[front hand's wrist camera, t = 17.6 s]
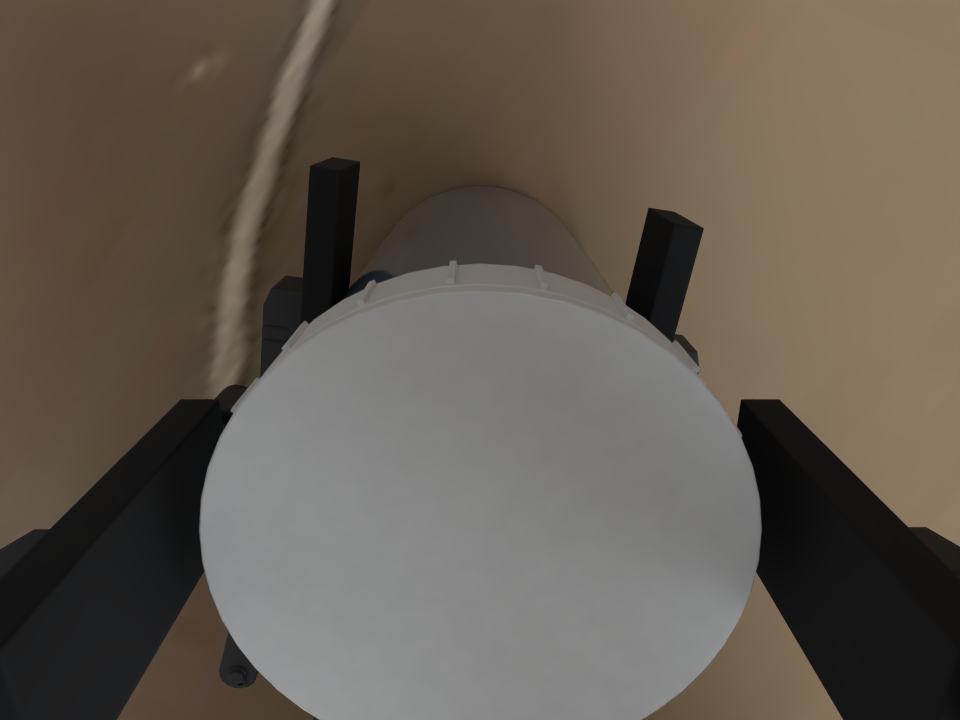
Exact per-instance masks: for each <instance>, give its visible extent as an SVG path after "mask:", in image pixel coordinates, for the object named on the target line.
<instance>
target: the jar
mask: <svg viewBox="0 0 960 720" xmlns="http://www.w3.org/2000/svg"><path fill="white" fill-rule="evenodd" d="M455 260H456V261H457V265H467V264H494V265H510V266H520V267H525V268H530V269H534V268H535V265H540V266H542V268H543V271H545V272H550V273H554V274H557V275H560V276H563V277H566V278H569V279H572V280H575V281H578V282H581V283H584V284H587V285H589V286H591V287H593V288H595V289H597V290H599V291H601V292H603V293H605V294H607V295H609V296H612V294H613V293H614V292H613V291H612V289H611V288H610V287H609V285H608V284H607V282H606V281H605V279H604V278H603V277H602V275H601V274H600V272H599V271H598V270H597V268H596V267H595V265H594V264H593V262H592V261H591V260H590V258H589V257H588V255H587V254H586V253H585V251H584V250H583V248H582V247H581V245H580V244H579V243H578V241H577V240H576V238H575V237H574V236H573V234H572V233H571V232H570V230H569V229H568V228H567V226H566V225H565V224H564V223H563V222H562V221H561V220H560V219H559V218H558V217H557V216H556V215H555V214H554V213H553V212H552V211H550V210H549V209H548V208H546V207H545V206H544V205H542V204H541V203H539V202H537V201H535V200H534V199H532V198H530V197H528V196H526V195H523V194H520V193H518V192H515V191H512V190H508V189H503V188H499V187H490V186H469V187H462V188H457V189H452V190H449V191H446V192H442V193H439V194H437V195H435V196H433V197H431V198H429V199H426V200H424V201H423V202H421V203H420V204H418V205H417V206H415V207H414V208H412V209H411V210H410V211H409V212H408V213H406V214H405V215H404V216H403V217H402V218H401V219H400V220H399V221H398V222H397V223H396V225H395V226H394V227H393V228H392V229H391V230H390V232H389V233H388V235H387V236H386V238H385V239H384V240H383V242H382V243H381V245H380V246H379V248H378V249H377V250H376V252H375V253H374V255H373V256H372V258H371V259H370V260H369V262H368V263H367V265H366V266H365V267H364V269H363V270H362V272H361V273H360V275H359V276H358V277H357V279H356V280H355V282H354V283H353V285H352V286H351V287H350V289H349V290H348V292H347V293H346V295H345V296H344V297H343V299H342V300H344V299H346V298H348V297H350V296H352V295H354V294H356V293H358V292H360V291H362V290H364V289H365V287H366V286H367V284H368V282H370V281H372V280H375V282H376V284H377V283H380V282H383V281H386V280H389V279H392V278H395V277H398V276H401V275H404V274H407V273H411V272H416V271H421V270H426V269H431V268H436V267H441V266H449V264H450V261H455ZM342 300H341V301H342Z"/></svg>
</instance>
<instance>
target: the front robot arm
mask: <svg viewBox="0 0 960 720" xmlns="http://www.w3.org/2000/svg"><path fill="white" fill-rule="evenodd" d="M737 428H738V429H739V430H740V432H741V434H742V437H741V438H742V441H743V443H744V446H745V448H746V451H747V453H748V456H749V458H750V461H751V463H752V466H753V470H754V474H755V479H756V483H757V487H758V492H759V496H760V509H761V525H762V533H761V543H760V553H759V562H758V566H757V570H756V572H757V574H758V576H759V577H760V579H761V581H762V582H763V584H764V586H765V587H766V589H767V591H768V593H769V594H770V596H771V598H772V599H773V601H774V603H775V604H776V606H777V608H778V610H779V611H780V613H781V615H782V616H783V618H784V620H785V621H786V623H787V625H788V627H789V628H790V630H791V632H792V633H793V635H794V637H795V638H796V640H797V642H798V643H799V645H800V647H801V649H802V650H803V652H804V654H805V655H806V657H807V659H808V660H809V662H810V664H811V666H812V667H813V669H814V671H815V672H816V674H817V676H818V677H819V679H820V681H821V683H822V684H823V686H824V688H825V689H826V691H827V693H828V694H829V696H830V698H831V699H832V701H833V703H834V705H835V706H836V708H837V710H838V711H839V713H840V715H841V716H842V718H843V720H960V547H959V546H958V545H956V544H954V543H952V542H951V541H949V540H947V539H946V538H944V537H942V536H940V535H939V534H937V533H935V532H933V531H932V530H930V529H928V528H927V527H907V526H906V525H905V524H904V523H903V522H902V521H901V520H900V519H899V518H898V517H897V516H896V515H895V514H894V513H893V512H892V511H891V510H890V509H889V508H888V507H887V506H886V505H885V504H884V503H883V502H882V501H881V500H880V499H879V498H878V497H877V496H876V495H875V494H874V493H873V492H872V491H871V490H870V489H869V488H868V487H867V486H866V485H865V484H864V483H863V482H862V481H861V480H860V479H859V478H858V477H857V476H856V475H855V474H854V473H853V472H852V471H851V470H850V469H849V468H848V467H847V466H846V465H845V464H844V463H843V462H842V461H841V460H840V459H839V458H838V457H837V456H836V455H835V454H834V453H833V452H832V451H831V450H830V449H829V448H828V447H827V446H826V445H825V444H824V443H823V442H822V441H821V440H820V439H819V438H818V437H817V436H816V435H815V434H814V433H813V432H812V431H811V430H810V429H808V428H807V427H806V426H805V425H804V424H803V423H802V422H801V421H800V420H799V419H798V418H797V417H796V416H795V415H794V414H793V413H792V412H791V411H790V410H789V409H788V408H787V407H786V406H785V405H784V404H783V403H782V402H781V401H780V400H779V399H741V404H740V411H739V417H738V424H737ZM222 432H223V424H222V417H221V411H220V404H219V399H181V400H180V401H179V402H178V403H177V404H176V405H175V406H174V407H173V408H172V409H171V410H170V411H169V412H168V413H167V414H166V415H165V416H164V417H163V418H162V419H161V420H160V421H159V422H158V423H157V424H156V425H155V426H154V427H153V428H152V429H150V430H149V431H148V432H147V433H146V434H145V435H144V436H143V437H142V438H141V439H140V440H139V441H138V442H137V443H136V444H135V445H134V446H133V447H132V448H131V449H130V450H129V451H128V452H127V453H126V454H125V455H124V456H123V457H122V458H121V459H120V460H119V461H118V462H117V463H116V464H115V465H114V466H113V467H112V468H111V469H110V470H109V471H108V472H107V473H106V474H105V475H104V476H103V477H102V478H101V479H100V480H99V481H98V482H97V483H96V484H95V485H94V486H93V487H92V488H91V489H90V490H89V491H88V492H87V493H86V494H85V495H84V496H83V497H82V498H81V499H80V500H79V501H78V502H77V503H76V504H75V505H74V506H73V507H72V508H71V509H70V510H69V511H68V512H67V513H66V514H65V515H64V516H63V517H62V518H61V519H60V520H59V521H58V522H57V523H56V524H55V525H54V526H53V527H52V528H51V529H50V530H33V531H31V532H29V533H28V534H26V535H24V536H22V537H21V538H19V539H17V540H16V541H14V542H12V543H10V544H9V545H7V546H5V547H3V548H2V549H0V720H117V718H118V716H119V715H120V713H121V711H122V710H123V708H124V706H125V705H126V703H127V701H128V699H129V698H130V696H131V694H132V693H133V691H134V689H135V688H136V686H137V684H138V683H139V681H140V679H141V677H142V676H143V674H144V672H145V671H146V669H147V667H148V666H149V664H150V662H151V660H152V659H153V657H154V655H155V654H156V652H157V650H158V649H159V647H160V645H161V643H162V642H163V640H164V638H165V637H166V635H167V633H168V632H169V630H170V628H171V627H172V625H173V623H174V621H175V620H176V618H177V616H178V615H179V613H180V611H181V610H182V608H183V606H184V604H185V603H186V601H187V599H188V598H189V596H190V594H191V593H192V591H193V589H194V587H195V586H196V584H197V582H198V581H199V579H200V577H201V576H202V574H203V572H204V567H203V563H202V555H201V545H200V535H199V522H200V505H201V496H202V491H203V487H204V482H205V478H206V473H207V469H208V465H209V463H210V460H211V458H212V455H213V453H214V450H215V448H216V445H217V443H218V440H219V438H220V435H221V434H222Z"/></svg>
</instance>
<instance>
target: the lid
mask: <svg viewBox="0 0 960 720" xmlns="http://www.w3.org/2000/svg"><path fill="white" fill-rule="evenodd" d="M282 350H283V351H282V352H281V353H280V354H279V356H278V357H277V358H276V359H275V360H274V362H273V363H272V364H271V365H270V367H269V368H268V369H267V370H266V372H265V373H264V374H263V375H262V377H261V378H260V379H259V378H256V379H255V380H254V381H253V382H252V384H251V385H250V386H249V387H248V389H247V390H246V391H245V392H244V393H243V395H242V396H241V397H240V398H239V400H238V401H237V402H236V403H235V405H234V406H233V407H232V409H231V412H233V415H232V417H231V419H230V420H229V422H228V424H227V425H226V427H225V429H224V430H223V432H222V434H221V435H220V438H219V440H218V443H217V445H216V448H215V450H214V453H213V455H212V458H211V460H210V463H209V465H208V469H207V473H206V478H205V482H204V487H203V491H202V496H201V505H200V522H199V535H200V545H201V555H202V563H203V567H204V571H205V575H206V579H207V583H208V586H209V590H210V593H211V595H212V598H213V600H214V603H215V605H216V607H217V610H218V612H219V614H220V617H221V619H222V621H223V622H224V624H225V626H226V627H227V629H228V631H229V633H230V634H231V636H232V638H233V639H234V641H235V643H236V644H237V646H238V647H239V648H240V649H241V651H242V652H243V653H244V655H245V656H246V657H247V658H248V660H249V661H250V662H251V663H252V665H253V666H254V667H255V668H256V669H257V670H258V671H259V672H260V673H261V674H262V675H263V676H264V677H265V678H266V679H267V680H268V681H269V682H270V683H271V684H272V685H273V686H274V687H275V688H276V689H277V690H278V691H279V692H281V693H282V694H283V695H284V696H286V697H287V698H288V699H290V700H291V701H292V702H294V703H295V704H296V705H297V706H299V707H300V708H301V709H303V710H304V711H306V712H308V713H309V714H311V715H313V716H314V717H316V718H318V719H319V720H641V719H643V718H645V717H646V716H648V715H650V714H651V713H653V712H655V711H656V710H658V709H659V708H661V707H662V706H663V705H665V704H666V703H667V702H668V701H670V700H671V699H672V698H674V697H675V696H676V695H677V694H679V693H680V692H681V691H683V690H684V689H685V688H686V687H687V686H688V685H689V684H690V683H691V682H692V681H693V680H694V679H695V678H696V677H697V676H698V675H699V674H700V673H701V672H702V671H703V670H704V669H705V668H706V667H707V666H708V664H709V663H710V662H711V660H712V659H713V658H714V657H715V655H716V654H717V653H718V652H719V650H720V649H721V648H722V647H723V645H724V644H725V642H726V640H727V639H728V637H729V635H730V634H731V632H732V630H733V629H734V627H735V625H736V624H737V622H738V620H739V619H740V616H741V614H742V611H743V609H744V607H745V604H746V602H747V600H748V597H749V595H750V592H751V589H752V586H753V582H754V578H755V574H756V570H757V566H758V562H759V553H760V543H761V533H762V525H761V509H760V496H759V492H758V487H757V483H756V479H755V474H754V470H753V466H752V463H751V461H750V458H749V456H748V453H747V451H746V448H745V446H744V443H743V441H742V438H741V437H742V434H741V432H740V430H739V429H738V428H737V427H736V425H735V424H734V423H733V422H732V420H731V419H730V417H729V415H728V414H727V412H726V410H725V409H724V407H723V406H722V404H721V403H720V402H719V401H718V399H717V398H716V397H715V396H714V394H713V393H712V392H711V391H710V389H709V388H708V387H707V386H706V384H705V383H704V382H703V381H702V379H701V378H700V377H699V376H698V374H697V373H698V372H699V371H701V369H700V368H699V367H698V366H697V364H696V363H695V362H694V361H693V360H692V358H691V357H690V356H689V355H688V353H687V352H686V351H685V350H684V349H683V347H682V346H681V345H680V344H679V343H678V342H677V341H676V340H675V341H674V342H673V343H671V341H670V340H669V339H667V338H666V337H665V336H664V335H663V334H662V333H661V332H660V331H659V330H658V329H656V328H655V327H654V326H653V325H652V324H651V323H650V322H649V321H648V320H647V319H645V318H644V317H642V316H641V315H639V314H638V313H636V312H635V311H633V310H632V309H630V308H629V307H628V306H626V304H625V303H624V302H623V300H622V299H621V297H620V296H619V295H618V294H616V293H613V294H612V296H609V295H607V294H605V293H603V292H601V291H599V290H597V289H595V288H593V287H591V286H589V285H587V284H584V283H581V282H578V281H575V280H572V279H569V278H566V277H563V276H560V275H557V274H554V273H550V272H545V271H543V268H542V266H540V265H535V268H534V269H530V268H525V267H520V266H510V265H494V264H467V265H457V261H456V260H455V261H450V264H449V266H441V267H436V268H431V269H426V270H421V271H416V272H411V273H407V274H404V275H401V276H398V277H395V278H392V279H389V280H386V281H383V282H380V283H377V284H376V282H375V280H372V281H370V282H368V284H367V286H366V287H365V289H364V290H362V291H360V292H358V293H356V294H354V295H352V296H350V297H348V298H346V299H344V300H342V301H341V302H339V303H338V304H336V305H335V306H333V307H332V308H330V309H329V310H327V311H326V312H324V313H323V314H321V315H320V316H318V317H317V318H316V319H314V320H313V321H312V322H311V323H310V324H308V323H307V322H306V321H304V322H303V323H302V324H301V325H300V326H299V327H298V329H297V330H296V331H295V332H294V334H293V335H292V336H291V337H290V339H289V340H288V341H287V342H286V343H285V345H284V346H283V347H282Z"/></svg>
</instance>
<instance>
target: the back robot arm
mask: <svg viewBox="0 0 960 720" xmlns="http://www.w3.org/2000/svg"><path fill="white" fill-rule="evenodd" d="M359 169H360V162H359V161H353V160H346V159H340V158H334V157H333V158H330V159H327V160H325V161H322V162H319V163H317V164H314V165H311V166H310V176H309V192H308V208H307V224H306V240H305V256H304V272H303V278H299V277H292V276H285V277H284V278H283V279H282V280H280V281H279V282H278V283H277V284H276V285H275V286H274V287H273V288H272V289H271V291H270V293H269V295H268V297H267V299H266V301H265V303H264V305H263V328H262V338H263V340H262V352H261V376H260V378H261V377H262V375H263V374H264V373H265V372H266V370H267V369H268V368H269V367H270V365H271V364H272V363H273V362H274V360H275V359H276V358H277V357H278V356H279V354H280V353H281V352H282V351H283V350H282V347H283V346H284V345H285V343H286V342H287V341H288V340H289V339H290V337H291V336H292V335H293V334H294V332H295V331H296V330H297V329H298V327H299V326H300V325H301V324H302V323H303V322H304V321H306V322H307V323H308V324H310V323H311V322H312V321H313V320H314V319H316V318H317V317H318V316H320V315H321V314H323V313H324V312H326V311H327V310H329V309H330V308H332V307H333V306H335V305H336V304H338V303H339V302H341V300H342V299H343V297H344V296H345V295H346V293H347V292H348V290H349V283H350V271H351V260H352V249H353V237H354V226H355V215H356V203H357V192H358V181H359ZM703 229H704V228H702V227H700V226H699V225H697V224H695V223H693V222H691V221H690V220H688V219H686V218H684V217H682V216H681V215H679V214H677V213H675V212H672V211H665V210H659V209H653V208H648V213H647V217H646V221H645V225H644V229H643V233H642V237H641V241H640V246H639V250H638V254H637V258H636V262H635V266H634V270H633V275H632V279H631V283H630V287H629V291H628V295H627V299H626V306H628V307H629V308H630V309H632V310H633V311H635V312H636V313H638V314H639V315H641V316H642V317H644V318H645V319H647V320H648V321H649V322H650V323H651V324H652V325H653V326H654V327H655V328H656V329H658V330H659V331H660V332H661V333H662V334H663V335H664V336H665V337H666V338H667V339H669V340H670V341H671V343H673V342H674V341H675V340H676V341H677V342H678V343H679V344H680V345H681V346H682V347H683V349H684V350H685V351H686V352H687V353H688V355H689V356H690V357H691V358H692V360H693V361H694V362H695V363H696V364H697V366H698V367H699V363H698V355H697V351H696V350H695V349H694V348H693V347H692V345H691V344H690V343H689V342H688V341H687V340H686V338H685V337H684V336H683V335H677V334H675V332H676V328H677V324H678V321H679V317H680V313H681V310H682V306H683V302H684V299H685V295H686V291H687V288H688V284H689V280H690V277H691V273H692V269H693V266H694V262H695V258H696V255H697V251H698V248H699V244H700V240H701V237H702V233H703ZM697 374H698V373H697ZM247 389H248V388H246V387H244V386H241V385H232V386H228V387H227V388H225V389H224V390H223V391H222V392H221V393H220V394H219V395H218V396H217V397H216V398H215V399H219V404H220V411H221V417H222V424H223V430H224V429H225V427H226V425H227V424H228V422H229V420H230V419H231V417H232V415H233V412H231V409H232V407H233V406H234V405H235V403H236V402H237V401H238V400H239V398H240V397H241V396H242V395H243V393H244V392H245V391H246V390H247ZM219 671H220V677H221V679H222V681H224V682H225V683H226V684H227V685H229V686H232V687H234V688H244V687H248V686H250V685H251V684H253V683H254V681H255V679H256V677H257V674H258V672H259V671H258V670H257V669H256V668H255V667H254V666H253V665H252V663H251V662H250V661H249V660H248V658H247V657H246V656H245V655H244V653H243V652H242V651H241V649H240V648H239V647H238V646H237V644H236V643H235V641H234V639H233V638H232V636H231V634H230V633H228V637H227V641H226V645H225V649H224V653H223V658H222V662H221V666H220V670H219ZM314 720H319V719H318V718H316V717H314Z"/></svg>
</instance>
